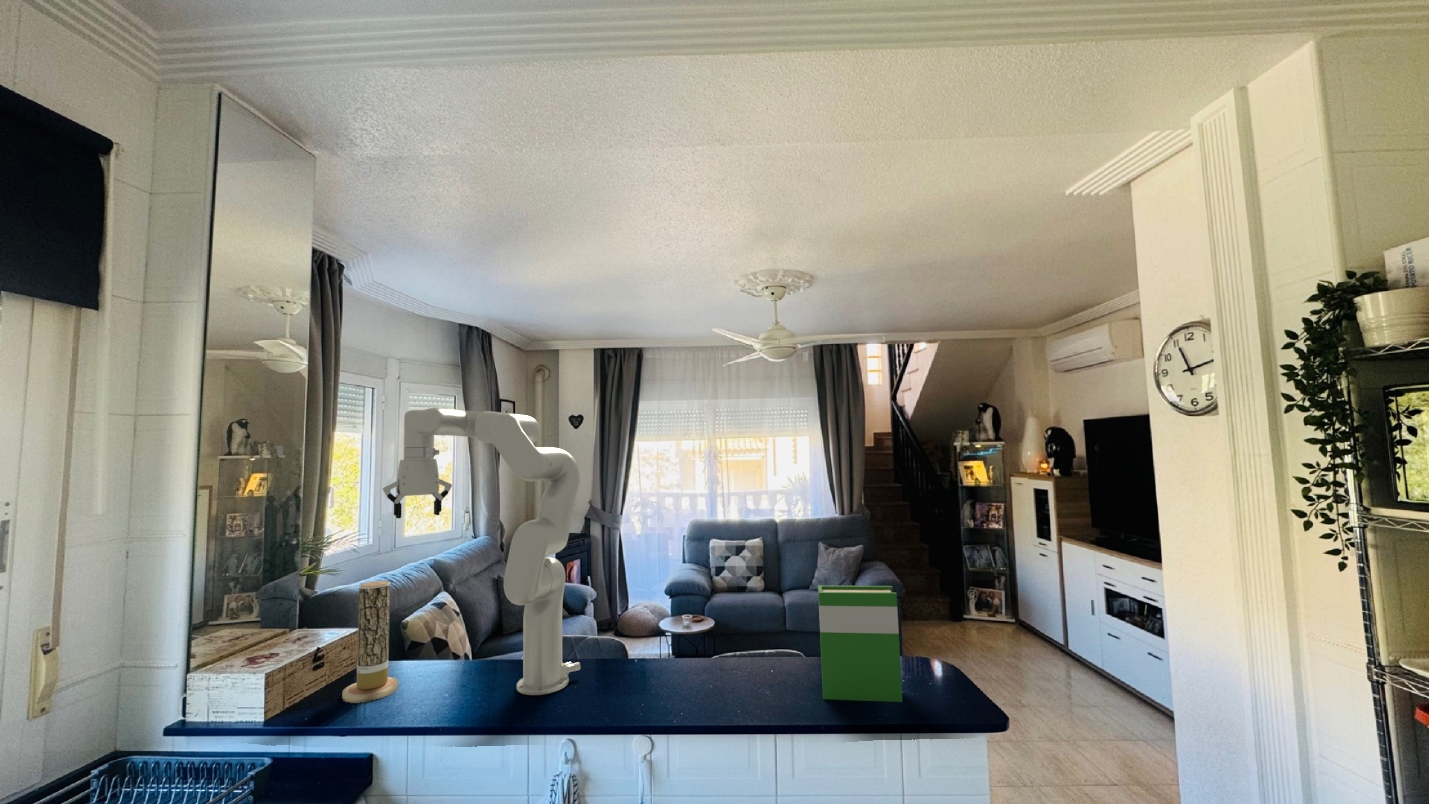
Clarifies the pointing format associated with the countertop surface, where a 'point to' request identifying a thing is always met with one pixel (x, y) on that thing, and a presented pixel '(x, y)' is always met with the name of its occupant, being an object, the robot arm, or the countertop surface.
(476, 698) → the countertop surface
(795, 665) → the countertop surface
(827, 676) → the hardback book
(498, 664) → the countertop surface
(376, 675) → the paper tube
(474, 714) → the countertop surface
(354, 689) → the plate
